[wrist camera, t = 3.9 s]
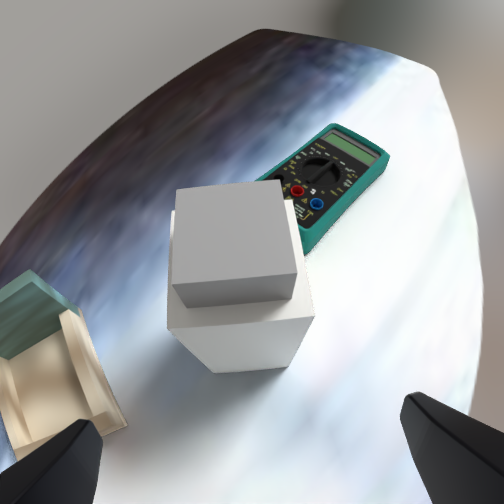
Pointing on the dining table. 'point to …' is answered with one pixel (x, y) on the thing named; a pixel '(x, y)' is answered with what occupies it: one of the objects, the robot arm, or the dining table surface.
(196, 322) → the connector plug
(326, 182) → the digital multimeter
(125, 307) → the dining table surface
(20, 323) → the tray
